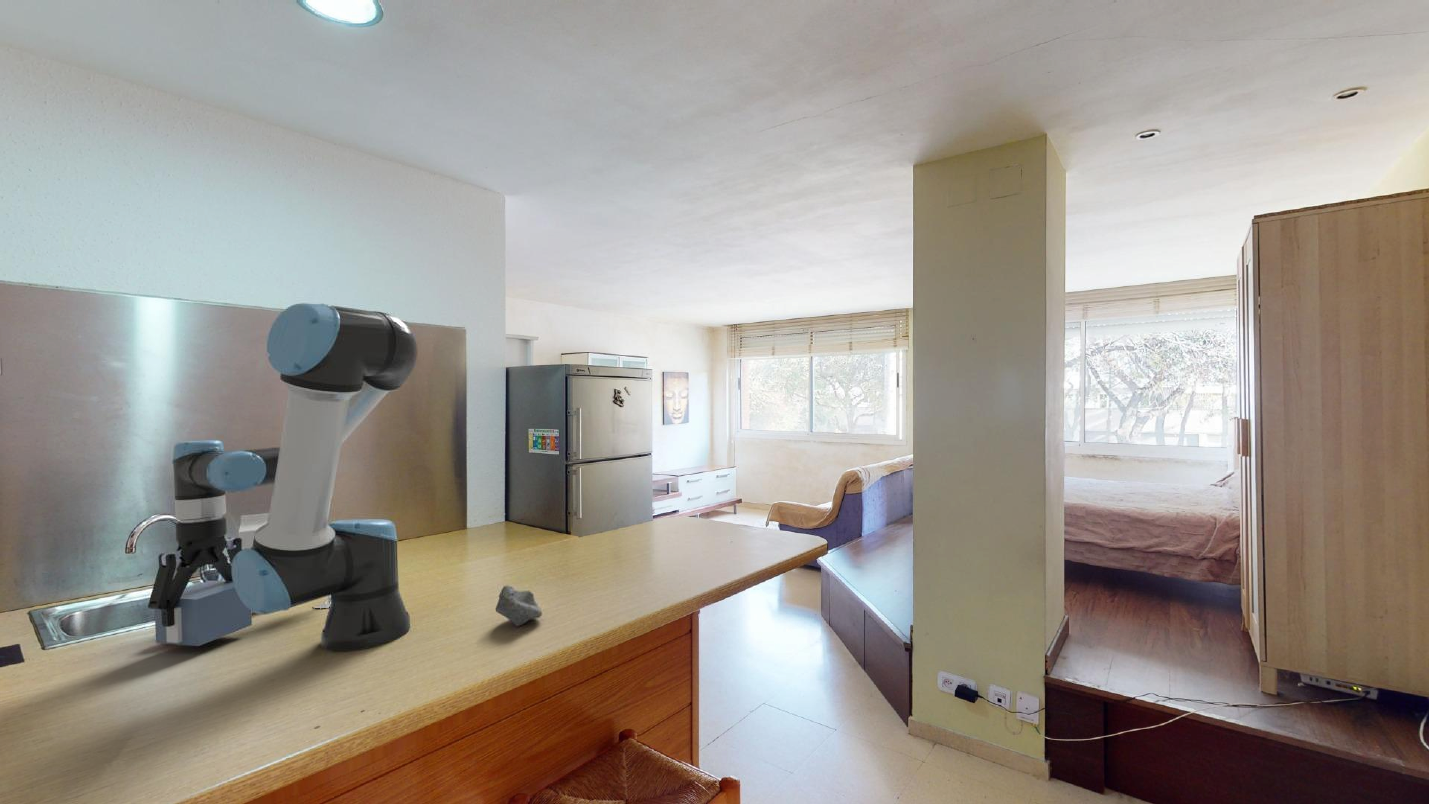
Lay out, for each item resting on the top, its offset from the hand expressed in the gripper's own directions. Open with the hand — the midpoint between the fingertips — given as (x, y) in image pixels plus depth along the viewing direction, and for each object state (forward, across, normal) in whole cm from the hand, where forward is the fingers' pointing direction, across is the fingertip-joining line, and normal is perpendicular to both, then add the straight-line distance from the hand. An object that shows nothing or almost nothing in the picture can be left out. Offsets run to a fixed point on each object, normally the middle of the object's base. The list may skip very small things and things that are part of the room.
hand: (205, 630), depth 115 cm
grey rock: (+2, -16, +59) cm, 61 cm away
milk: (+3, -19, -9) cm, 21 cm away
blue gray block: (+1, 0, 0) cm, 1 cm away
